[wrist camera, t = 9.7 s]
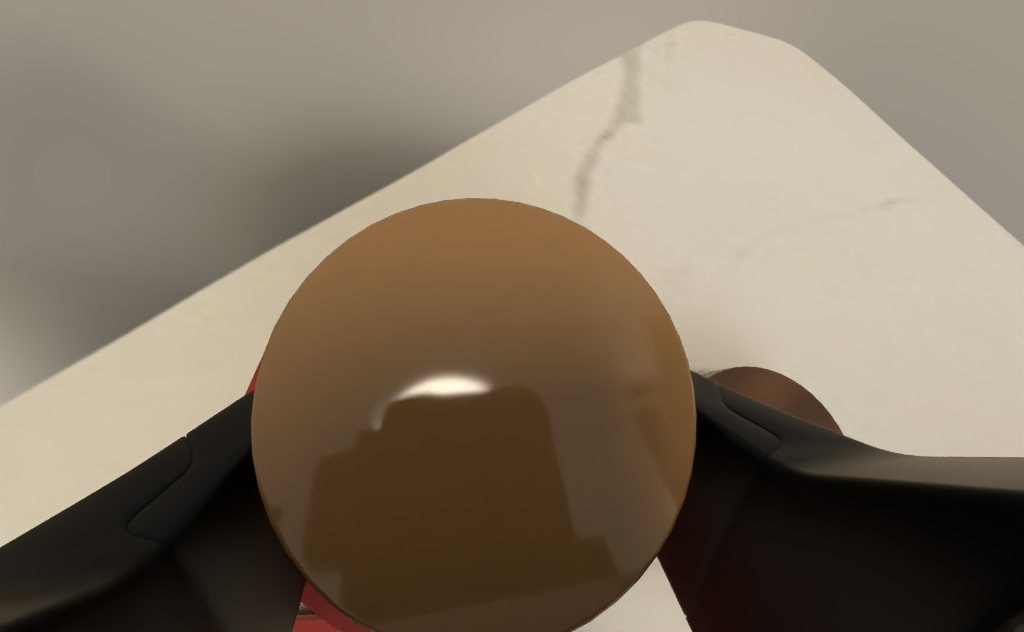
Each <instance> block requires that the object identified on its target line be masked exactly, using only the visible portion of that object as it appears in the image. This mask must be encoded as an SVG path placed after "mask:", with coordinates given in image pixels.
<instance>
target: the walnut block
mask: <svg viewBox="0 0 1024 632" xmlns="http://www.w3.org/2000/svg"><path fill="white" fill-rule="evenodd" d="M702 376H704V377H706V378H708V379H710V380H713V381H715V382H717V383H718V384H719V385H724V386H726V387H728V388H730V389H732V390H735V391H737V392H739V393H741V394H744V395H746V396H748V397H750V398H753V399H755V400H757V401H760V402H762V403H764V404H767V405H769V406H771V407H774V408H776V409H779V410H781V411H784V412H786V413H789V414H791V415H793V416H796V417H799V418H801V419H804V420H806V421H809V422H811V423H814V424H816V425H819V426H821V427H824V428H826V429H829V430H831V431H834V432H836V433H839V434H841V435H843V433H842V432H841V430H840V428H839V426H838V425H837V423H836V422H835V420H834V419H833V417H832V416H831V414H830V413H829V412H828V411H827V409H826V408H825V407H824V406H823V405H822V404H821V403H820V402H819V401H818V400H817V399H816V398H815V397H814V396H813V395H812V394H811V393H810V392H809V391H807V390H806V389H805V388H804V387H802V386H801V385H800V384H798V383H796V382H795V381H793V380H792V379H790V378H788V377H786V376H784V375H782V374H780V373H777V372H774V371H771V370H768V369H763V368H758V367H734V368H729V369H725V370H721V371H716V372H712V373H708V374H703V375H702Z"/></svg>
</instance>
